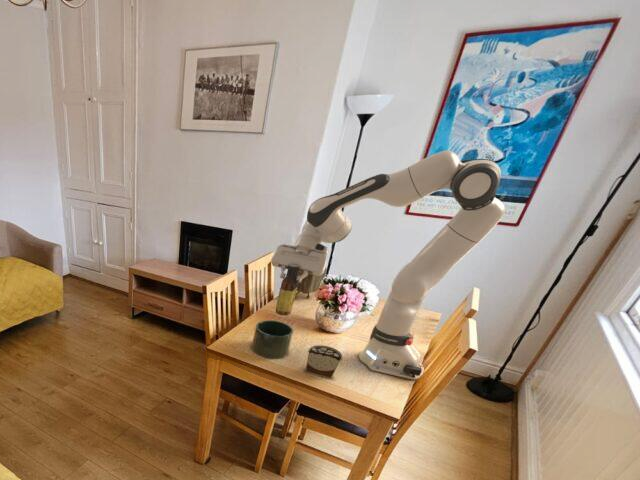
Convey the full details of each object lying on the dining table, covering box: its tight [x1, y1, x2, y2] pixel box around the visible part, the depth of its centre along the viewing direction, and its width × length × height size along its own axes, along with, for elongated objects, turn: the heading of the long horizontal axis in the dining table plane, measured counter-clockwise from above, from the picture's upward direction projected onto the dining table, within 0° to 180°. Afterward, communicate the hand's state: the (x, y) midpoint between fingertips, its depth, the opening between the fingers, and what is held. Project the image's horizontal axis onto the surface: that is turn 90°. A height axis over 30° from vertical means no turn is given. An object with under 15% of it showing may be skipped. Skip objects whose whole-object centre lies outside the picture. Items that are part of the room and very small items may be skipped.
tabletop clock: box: [295, 267, 327, 299], centre depth 204 cm, size 14×9×25 cm, turn 126°
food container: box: [304, 344, 343, 380], centre depth 150 cm, size 12×6×10 cm, turn 59°
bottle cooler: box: [251, 319, 294, 359], centre depth 164 cm, size 15×15×10 cm
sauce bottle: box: [275, 264, 299, 316], centre depth 156 cm, size 6×6×20 cm
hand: (290, 279), depth 153 cm, fingers closed on sauce bottle, 5 cm apart
